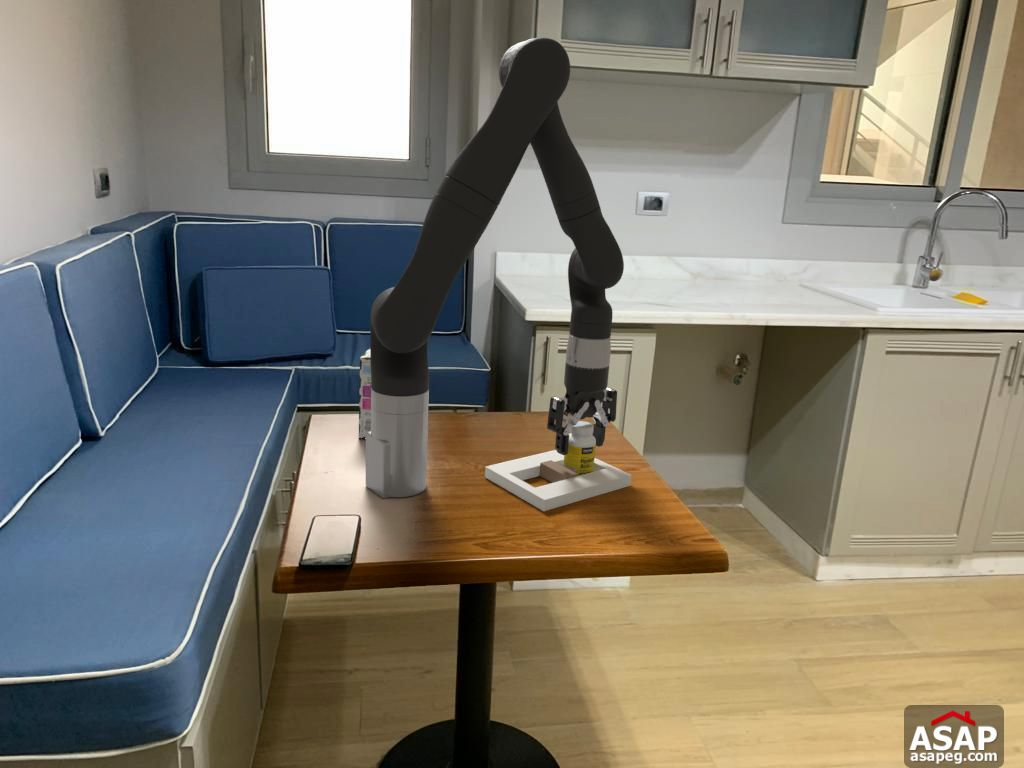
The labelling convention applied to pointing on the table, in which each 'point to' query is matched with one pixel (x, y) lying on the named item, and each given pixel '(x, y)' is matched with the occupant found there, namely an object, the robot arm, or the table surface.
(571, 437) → the supplement bottle
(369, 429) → the candy bar box
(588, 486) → the white frame
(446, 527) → the table surface
